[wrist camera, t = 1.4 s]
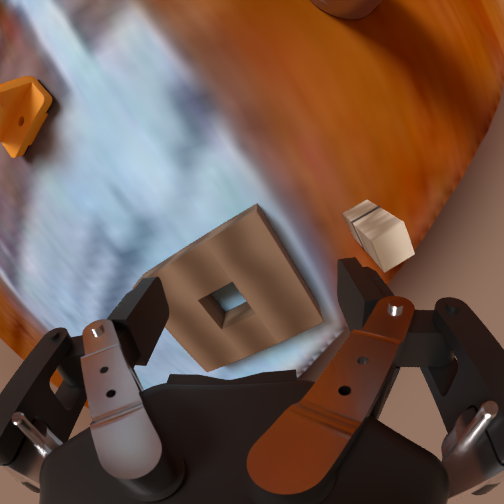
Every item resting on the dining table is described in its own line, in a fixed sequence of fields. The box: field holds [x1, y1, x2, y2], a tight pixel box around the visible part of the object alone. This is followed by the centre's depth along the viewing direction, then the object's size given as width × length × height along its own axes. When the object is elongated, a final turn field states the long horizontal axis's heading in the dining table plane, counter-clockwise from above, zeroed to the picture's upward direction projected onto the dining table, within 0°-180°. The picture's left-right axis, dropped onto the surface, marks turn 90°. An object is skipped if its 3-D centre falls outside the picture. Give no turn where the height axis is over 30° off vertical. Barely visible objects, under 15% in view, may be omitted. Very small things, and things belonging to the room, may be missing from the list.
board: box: [133, 204, 324, 372], centre depth 35 cm, size 18×16×4 cm
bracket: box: [0, 76, 52, 158], centre depth 22 cm, size 11×7×12 cm, turn 134°
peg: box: [342, 200, 415, 273], centre depth 28 cm, size 4×4×10 cm
